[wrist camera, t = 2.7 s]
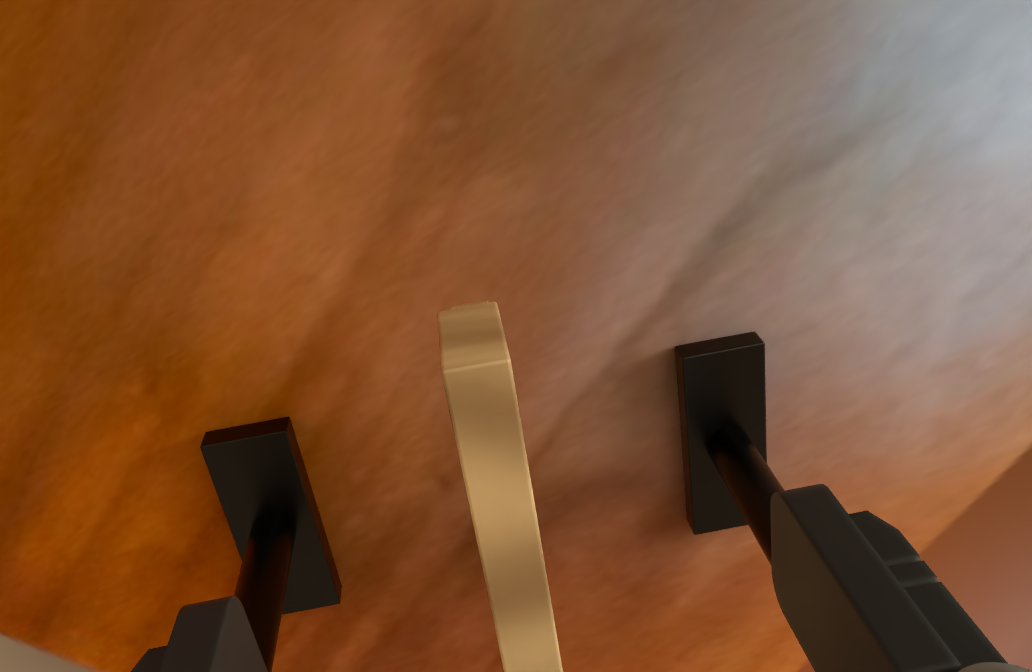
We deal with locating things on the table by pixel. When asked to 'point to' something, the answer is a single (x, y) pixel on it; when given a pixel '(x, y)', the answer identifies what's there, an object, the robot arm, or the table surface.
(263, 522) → the rail stand
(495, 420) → the hanger
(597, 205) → the table surface
